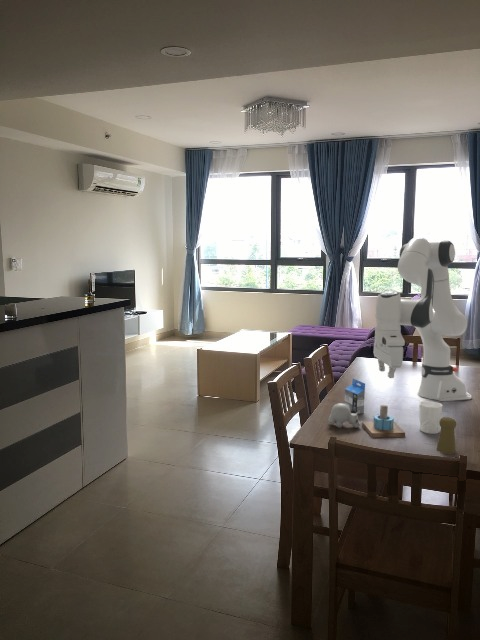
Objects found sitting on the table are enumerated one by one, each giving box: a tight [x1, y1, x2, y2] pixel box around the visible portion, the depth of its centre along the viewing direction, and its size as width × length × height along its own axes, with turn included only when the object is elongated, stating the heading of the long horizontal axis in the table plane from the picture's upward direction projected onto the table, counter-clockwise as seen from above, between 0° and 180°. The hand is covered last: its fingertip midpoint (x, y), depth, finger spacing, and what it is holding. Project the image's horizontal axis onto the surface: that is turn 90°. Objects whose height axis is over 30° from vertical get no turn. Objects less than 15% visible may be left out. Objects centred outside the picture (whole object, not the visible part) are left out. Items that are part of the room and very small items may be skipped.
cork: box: [436, 416, 457, 455], centre depth 176 cm, size 6×6×11 cm
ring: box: [373, 414, 395, 430], centre depth 195 cm, size 7×7×4 cm
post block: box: [361, 404, 406, 438], centre depth 194 cm, size 12×12×10 cm
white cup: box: [418, 400, 443, 435], centre depth 195 cm, size 8×8×10 cm
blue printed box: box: [344, 378, 366, 415], centre depth 218 cm, size 9×4×12 cm, turn 23°
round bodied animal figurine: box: [327, 402, 363, 429], centre depth 199 cm, size 7×12×8 cm, turn 71°
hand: (386, 374), depth 193 cm, fingers open, 8 cm apart
